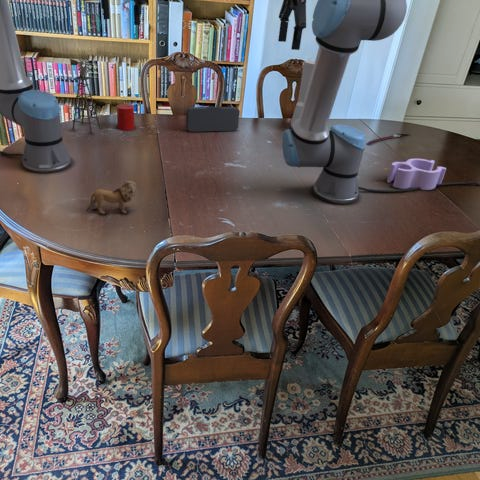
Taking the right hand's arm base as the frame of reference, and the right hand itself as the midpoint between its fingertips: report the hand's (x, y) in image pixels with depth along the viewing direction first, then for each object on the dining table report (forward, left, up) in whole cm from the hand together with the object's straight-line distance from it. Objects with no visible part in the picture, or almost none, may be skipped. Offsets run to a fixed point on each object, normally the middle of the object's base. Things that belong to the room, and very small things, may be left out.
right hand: (288, 45), depth 164 cm
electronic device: (-24, -27, -41) cm, 54 cm away
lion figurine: (+64, +39, -41) cm, 85 cm away
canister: (+55, -30, -41) cm, 75 cm away
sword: (-61, -13, -41) cm, 74 cm away
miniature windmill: (+71, -29, -41) cm, 87 cm away
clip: (-45, +30, -41) cm, 68 cm away
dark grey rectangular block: (+20, -26, -41) cm, 52 cm away
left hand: (+55, -30, 0) cm, 63 cm away
